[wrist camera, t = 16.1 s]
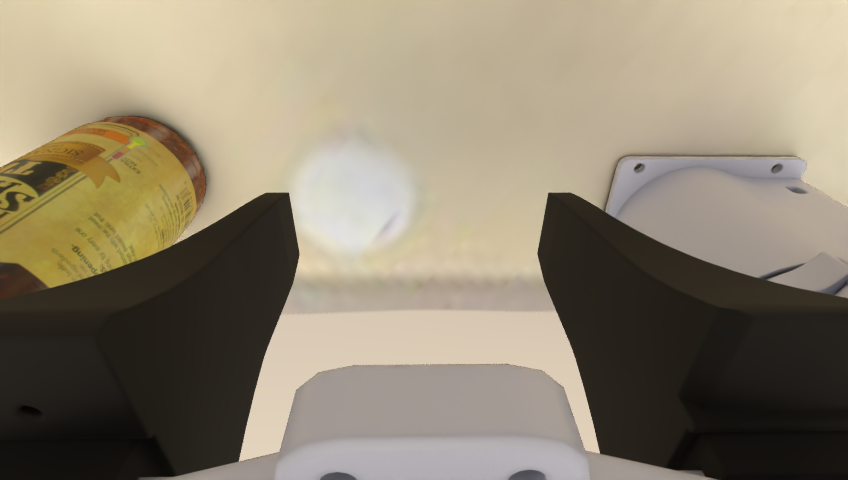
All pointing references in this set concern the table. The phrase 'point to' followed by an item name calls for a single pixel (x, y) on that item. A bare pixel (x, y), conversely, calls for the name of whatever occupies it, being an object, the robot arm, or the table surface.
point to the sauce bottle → (94, 202)
